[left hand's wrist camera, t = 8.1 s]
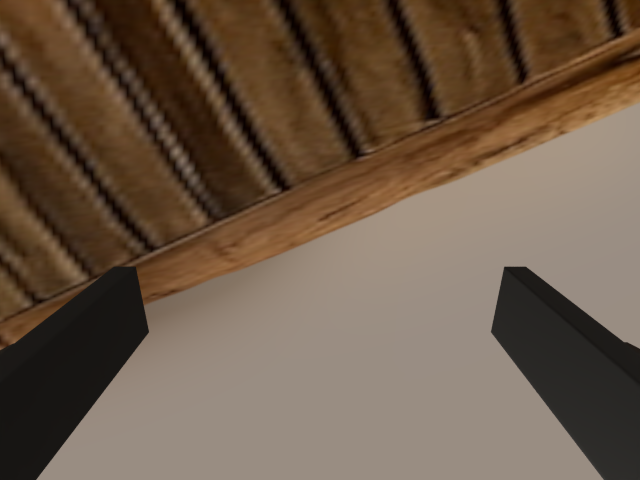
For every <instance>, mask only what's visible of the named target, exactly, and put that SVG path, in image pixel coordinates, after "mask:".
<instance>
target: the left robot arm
mask: <svg viewBox="0 0 640 480" xmlns="http://www.w3.org/2000/svg"><path fill="white" fill-rule="evenodd" d="M148 333H149V330H148V325H147V320H146V315H145V310H144V305H143V300H142V295H141V291H140V286H139V281H138V276H137V271H136V267H113V268H112V269H111V270H109V271H108V272H107V273H105V274H104V275H103V276H101V277H100V278H99V279H98V280H96V281H95V282H94V283H92V284H91V285H90V286H88V287H87V288H86V289H85V290H83V291H82V292H81V293H79V294H78V295H77V296H75V297H74V298H73V299H72V300H70V301H69V302H68V303H66V304H65V305H64V306H62V307H61V308H60V309H59V310H57V311H56V312H55V313H53V314H52V315H51V316H49V317H48V318H47V319H46V320H44V321H43V322H42V323H40V324H39V325H38V326H37V327H35V328H34V329H33V330H31V331H30V332H29V333H27V334H26V335H25V336H24V337H22V338H21V339H20V340H18V341H17V342H16V343H14V344H12V345H10V346H8V347H6V348H4V349H2V350H0V480H36V479H37V478H38V477H39V475H40V474H41V473H42V471H43V470H44V469H45V467H46V466H47V465H48V463H49V462H50V461H51V460H52V458H53V457H54V456H55V454H56V453H57V452H58V450H59V449H60V448H61V447H62V445H63V444H64V443H65V441H66V440H67V439H68V437H69V436H70V435H71V433H72V432H73V431H74V430H75V428H76V427H77V426H78V424H79V423H80V422H81V420H82V419H83V418H84V416H85V415H86V414H87V413H88V411H89V410H90V409H91V407H92V406H93V405H94V403H95V402H96V401H97V399H98V398H99V397H100V395H101V394H102V393H103V392H104V390H105V389H106V388H107V386H108V385H109V384H110V382H111V381H112V380H113V378H114V377H115V376H116V375H117V373H118V372H119V371H120V369H121V368H122V367H123V365H124V364H125V363H126V361H127V360H128V359H129V358H130V356H131V355H132V354H133V352H134V351H135V350H136V348H137V347H138V346H139V344H140V343H141V342H142V340H143V339H144V338H145V337H146V335H147V334H148ZM491 333H492V334H493V335H494V337H495V338H496V339H497V341H498V342H499V343H500V344H501V346H502V347H503V348H504V350H505V351H506V352H507V354H508V355H509V356H510V357H511V359H512V360H513V361H514V363H515V364H516V365H517V367H518V368H519V369H520V371H521V372H522V373H523V375H524V376H525V377H526V378H527V380H528V381H529V382H530V384H531V385H532V386H533V388H534V389H535V390H536V392H537V393H538V394H539V395H540V397H541V398H542V399H543V401H544V402H545V403H546V405H547V406H548V407H549V409H550V410H551V411H552V413H553V414H554V415H555V416H556V418H557V419H558V420H559V422H560V423H561V424H562V426H563V427H564V428H565V430H566V431H567V432H568V433H569V435H570V436H571V437H572V439H573V440H574V441H575V443H576V444H577V445H578V446H579V448H580V449H581V450H582V452H583V453H584V454H585V456H586V457H587V458H588V460H589V461H590V462H591V464H592V465H593V466H594V467H595V469H596V470H597V471H598V473H599V474H600V475H601V477H602V478H603V479H604V480H640V349H639V348H637V347H635V346H633V345H631V344H629V343H627V342H623V341H622V340H620V339H619V338H618V337H616V336H615V335H614V334H612V333H611V332H610V331H609V330H607V329H606V328H605V327H603V326H602V325H601V324H600V323H598V322H597V321H596V320H594V319H593V318H592V317H591V316H589V315H588V314H587V313H585V312H584V311H583V310H581V309H580V308H579V307H578V306H576V305H575V304H574V303H572V302H571V301H570V300H568V299H567V298H566V297H565V296H563V295H562V294H561V293H559V292H558V291H557V290H555V289H554V288H553V287H552V286H550V285H549V284H548V283H546V282H545V281H544V280H542V279H541V278H540V277H539V276H537V275H536V274H535V273H533V272H532V271H531V270H529V269H528V268H527V267H504V271H503V276H502V281H501V286H500V291H499V295H498V300H497V305H496V310H495V315H494V320H493V325H492V330H491Z"/></svg>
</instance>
